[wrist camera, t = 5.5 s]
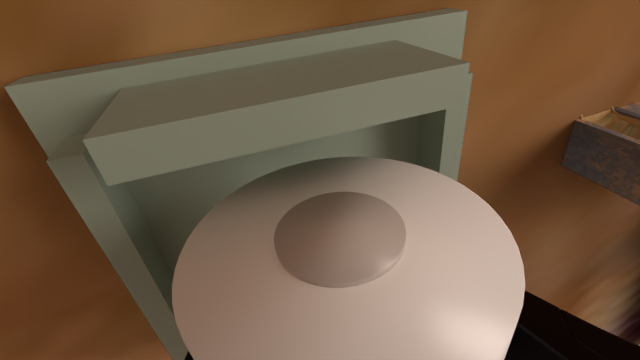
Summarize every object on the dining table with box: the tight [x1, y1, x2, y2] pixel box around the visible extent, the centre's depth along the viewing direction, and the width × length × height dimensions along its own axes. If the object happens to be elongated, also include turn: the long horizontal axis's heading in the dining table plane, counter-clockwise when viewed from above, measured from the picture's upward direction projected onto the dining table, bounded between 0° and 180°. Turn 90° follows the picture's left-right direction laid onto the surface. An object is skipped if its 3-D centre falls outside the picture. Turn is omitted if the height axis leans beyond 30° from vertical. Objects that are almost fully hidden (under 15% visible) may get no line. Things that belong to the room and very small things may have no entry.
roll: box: [172, 157, 525, 360], centre depth 8 cm, size 7×6×6 cm
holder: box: [4, 8, 473, 360], centre depth 11 cm, size 12×13×4 cm
